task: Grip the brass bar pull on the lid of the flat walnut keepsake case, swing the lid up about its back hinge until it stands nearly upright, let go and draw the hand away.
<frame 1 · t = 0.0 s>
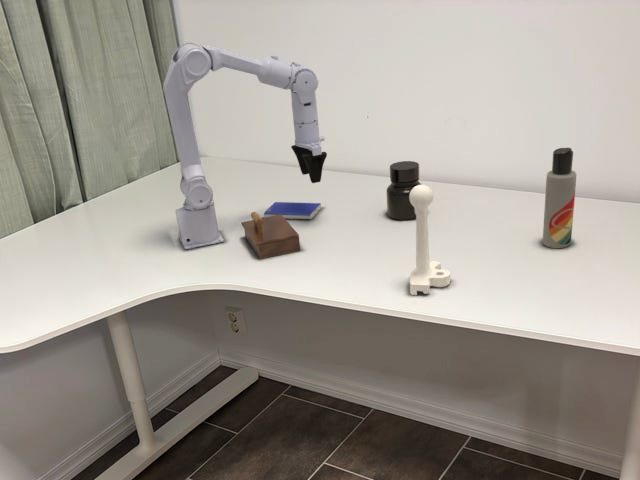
hand: (311, 177, 188), 10 cm above the table, tool pointing down, fingers open, 7 cm apart
lotion bottle: (556, 244, 164), on the table
ink bottle: (406, 214, 188), on the table
hard drive: (293, 214, 197), on the table
case: (272, 243, 181), on the table
joystick: (431, 284, 154), on the table
lid: (268, 222, 178), point 5 cm above the table, hinge at 0.0°
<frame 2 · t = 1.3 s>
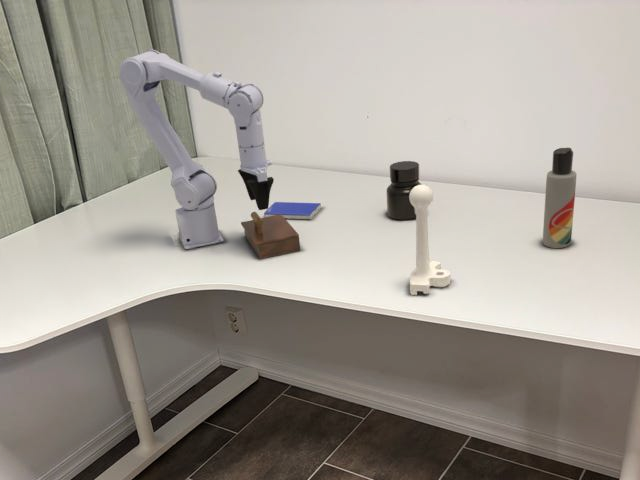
hand: (259, 204, 176), 10 cm above the table, tool pointing down, fingers open, 7 cm apart
nothing on the table moved.
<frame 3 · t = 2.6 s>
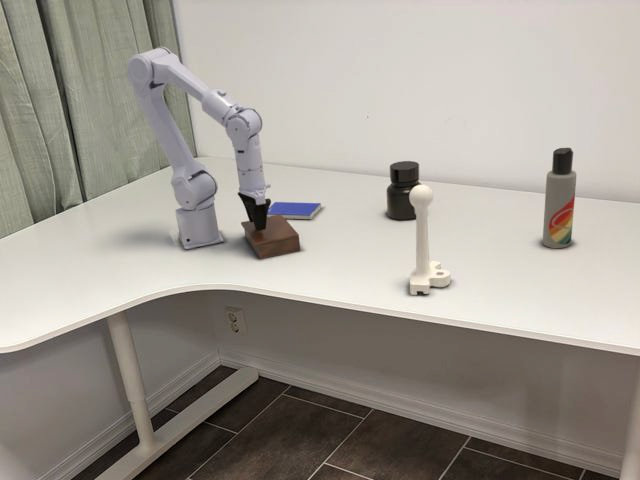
hand: (257, 225, 178), 5 cm above the table, tool pointing down, fingers closed on lid, 5 cm apart
lid: (268, 221, 178), point 5 cm above the table, hinge at 0.0°, touching gripper
everything else where it was.
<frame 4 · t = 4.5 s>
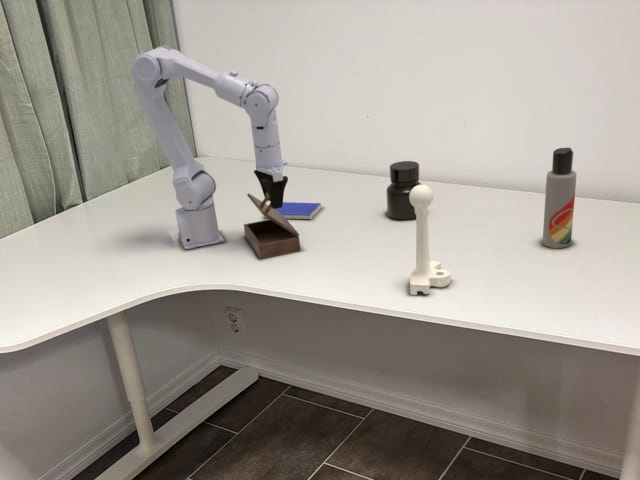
hand: (274, 203, 176), 9 cm above the table, tool pointing down, fingers closed on lid, 5 cm apart
lid: (277, 207, 177), point 8 cm above the table, hinge at 42.3°, touching gripper
everything else where it was.
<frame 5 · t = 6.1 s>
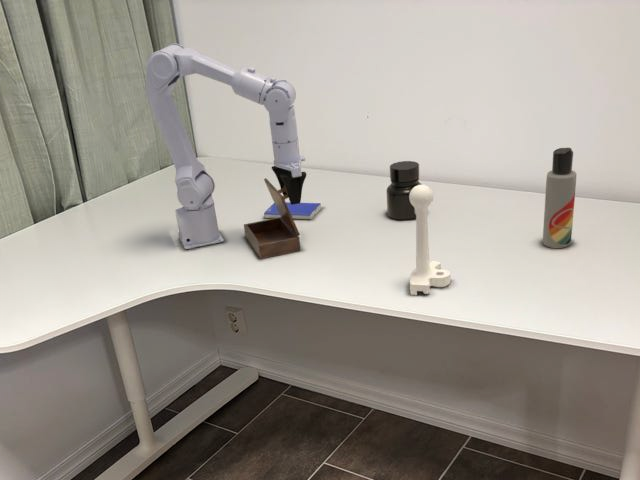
hand: (291, 199, 177), 10 cm above the table, tool pointing down, fingers closed on lid, 5 cm apart
lid: (288, 202, 177), point 9 cm above the table, hinge at 73.4°, touching gripper
everything else where it was.
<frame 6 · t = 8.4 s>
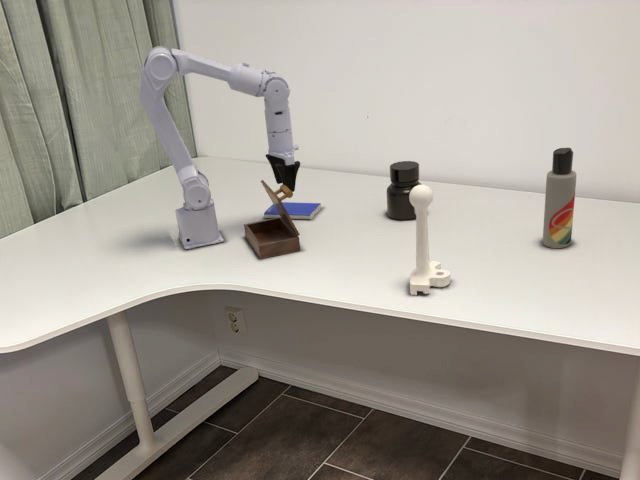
hand: (285, 187, 184), 10 cm above the table, tool pointing down, fingers open, 7 cm apart
lid: (286, 203, 177), point 9 cm above the table, hinge at 68.4°
everything else where it was.
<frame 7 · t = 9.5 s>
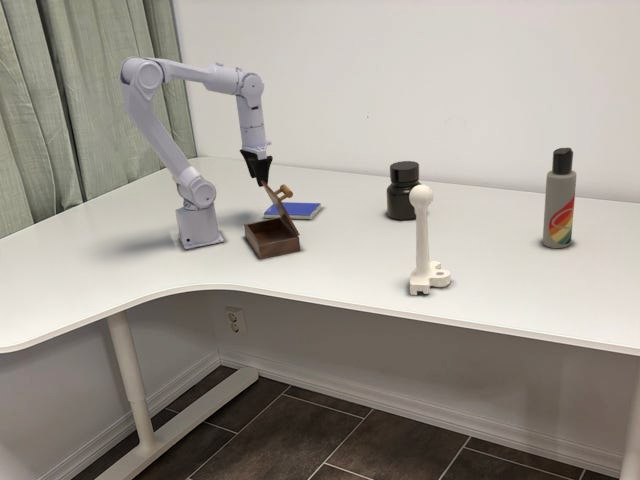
hand: (259, 181, 189), 10 cm above the table, tool pointing down, fingers open, 7 cm apart
nothing on the table moved.
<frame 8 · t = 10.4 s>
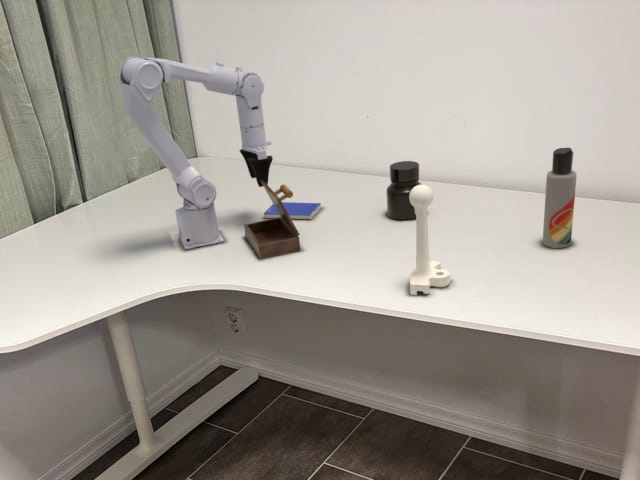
hand: (259, 181, 189), 10 cm above the table, tool pointing down, fingers open, 7 cm apart
nothing on the table moved.
at the end: lid at +68° (first picture: +0°); the gripper is holding nothing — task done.
